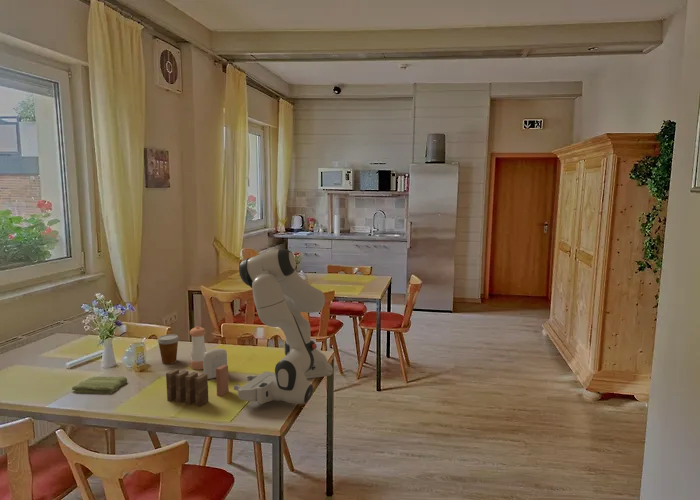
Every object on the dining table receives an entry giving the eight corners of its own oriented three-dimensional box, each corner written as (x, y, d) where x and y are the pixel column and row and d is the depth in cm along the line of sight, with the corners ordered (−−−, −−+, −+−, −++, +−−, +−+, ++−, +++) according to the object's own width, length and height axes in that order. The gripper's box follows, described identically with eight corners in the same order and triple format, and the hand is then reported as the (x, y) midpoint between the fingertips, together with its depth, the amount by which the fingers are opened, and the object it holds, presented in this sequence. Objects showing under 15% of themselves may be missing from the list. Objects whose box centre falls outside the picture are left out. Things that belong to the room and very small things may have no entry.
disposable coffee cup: (167, 366, 227) (166, 341, 225) (154, 362, 232) (152, 338, 230) (184, 360, 235) (183, 336, 233) (171, 356, 240) (169, 332, 238)
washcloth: (89, 381, 211) (89, 374, 211) (129, 382, 210) (128, 375, 209) (70, 394, 198) (69, 386, 198) (112, 395, 197) (111, 387, 196)
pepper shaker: (187, 368, 225) (185, 327, 222) (197, 363, 232) (196, 323, 229) (200, 370, 222) (198, 329, 220) (210, 365, 229) (209, 325, 226)
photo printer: (225, 372, 220) (224, 345, 218) (228, 375, 216) (228, 348, 215) (202, 377, 214) (201, 350, 213) (205, 380, 211) (204, 352, 209)
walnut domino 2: (189, 397, 194) (188, 371, 192) (180, 403, 189) (179, 375, 188) (185, 397, 194) (184, 370, 193) (176, 402, 190) (175, 374, 188)
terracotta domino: (228, 391, 200) (227, 365, 199) (221, 396, 195) (220, 369, 194) (224, 390, 201) (223, 364, 199) (216, 395, 196) (216, 368, 195)
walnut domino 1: (180, 396, 195) (179, 369, 194) (171, 401, 191) (170, 373, 189) (176, 395, 196) (175, 368, 195) (167, 400, 191) (166, 373, 190)
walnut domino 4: (208, 401, 190) (207, 374, 189) (200, 406, 186) (198, 379, 184) (204, 400, 191) (203, 373, 190) (195, 406, 186) (194, 378, 185)
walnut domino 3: (198, 399, 192) (197, 372, 191) (190, 405, 187) (189, 377, 186) (194, 398, 193) (193, 371, 191) (186, 404, 188) (184, 376, 187)
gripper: (285, 370, 198) (255, 365, 203) (258, 389, 179) (226, 384, 184) (285, 385, 199) (256, 380, 204) (258, 406, 180) (226, 400, 185)
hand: (241, 382), depth 194 cm, fingers open, 8 cm apart
